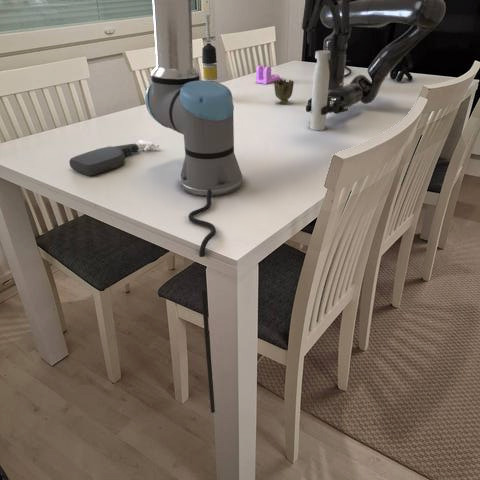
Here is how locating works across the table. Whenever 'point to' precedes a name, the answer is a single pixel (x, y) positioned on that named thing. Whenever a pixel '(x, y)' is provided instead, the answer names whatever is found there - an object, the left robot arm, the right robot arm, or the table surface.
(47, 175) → the table surface
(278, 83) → the cup
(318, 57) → the cap
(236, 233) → the table surface
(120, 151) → the spray bottle
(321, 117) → the bottle
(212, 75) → the yellow black flask
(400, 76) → the squiggle
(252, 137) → the table surface
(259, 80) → the bracket
